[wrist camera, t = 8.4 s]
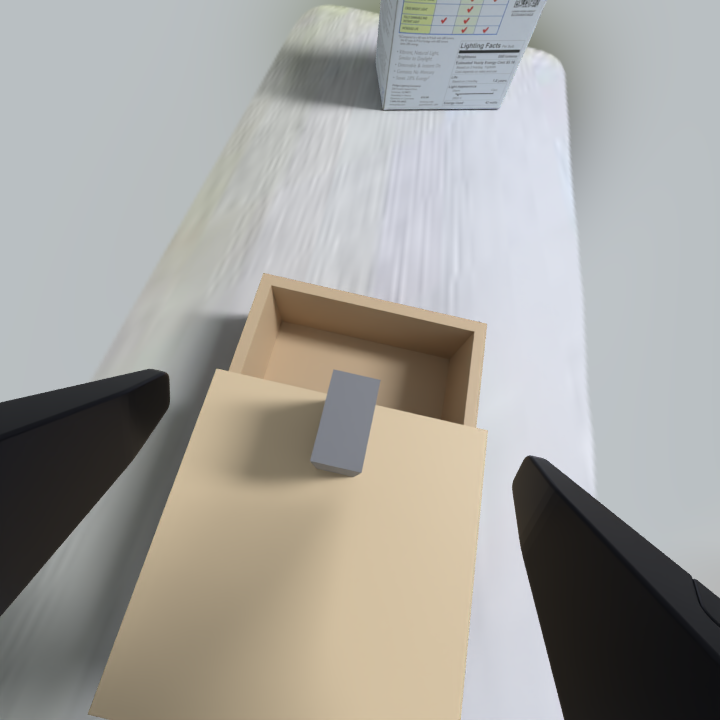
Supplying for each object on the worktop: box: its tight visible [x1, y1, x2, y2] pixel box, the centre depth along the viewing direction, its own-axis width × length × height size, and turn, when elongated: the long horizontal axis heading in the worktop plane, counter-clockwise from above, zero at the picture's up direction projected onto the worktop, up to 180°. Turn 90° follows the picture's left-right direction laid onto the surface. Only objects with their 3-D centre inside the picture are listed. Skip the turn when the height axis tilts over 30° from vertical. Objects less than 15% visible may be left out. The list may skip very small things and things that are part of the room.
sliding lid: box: [88, 369, 488, 720], centre depth 12 cm, size 12×12×5 cm
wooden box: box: [229, 273, 487, 428], centre depth 19 cm, size 12×12×5 cm
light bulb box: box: [375, 0, 547, 110], centre depth 27 cm, size 11×7×11 cm, turn 97°
